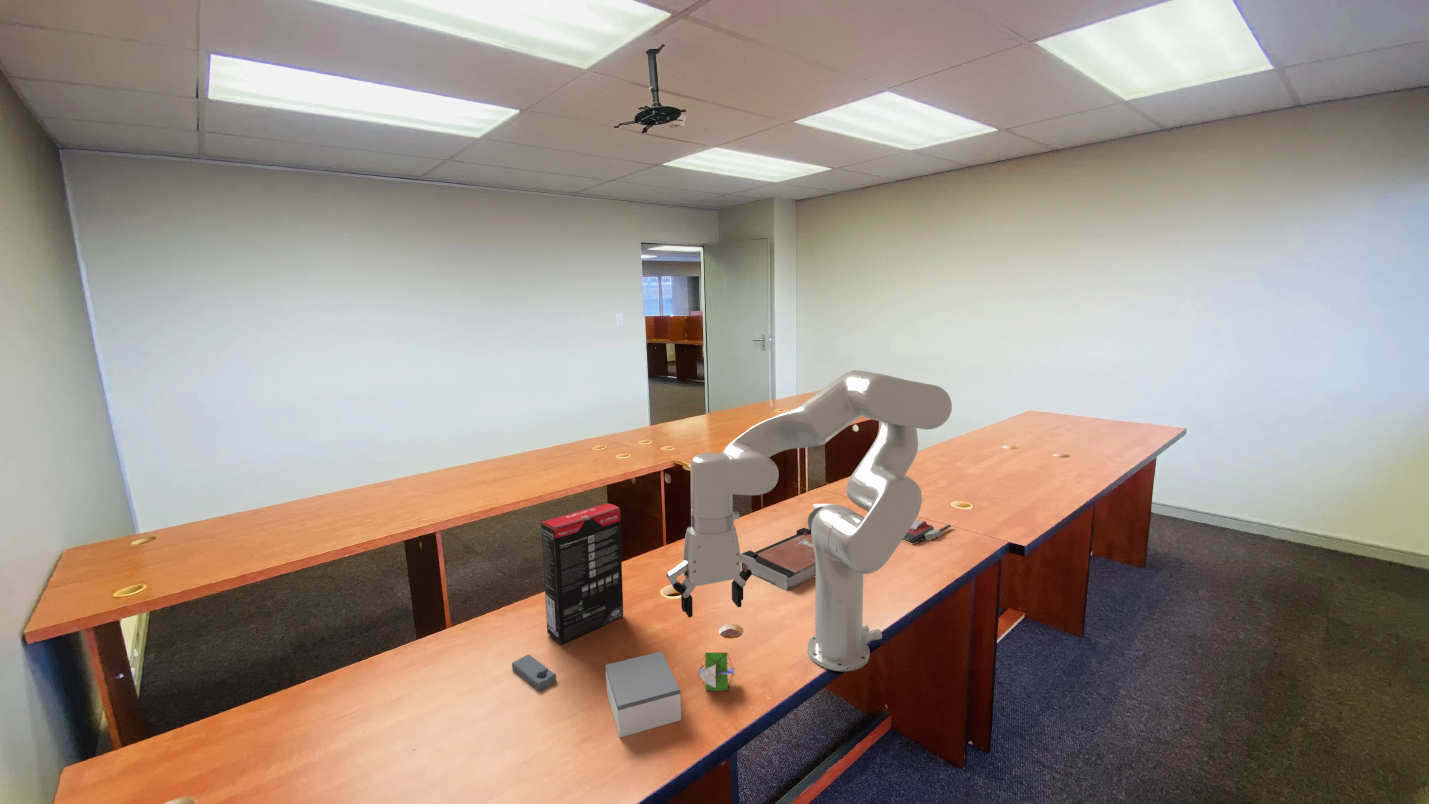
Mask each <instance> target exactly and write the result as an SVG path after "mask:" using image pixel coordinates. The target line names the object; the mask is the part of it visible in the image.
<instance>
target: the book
mask: <svg viewBox="0 0 1429 804" xmlns="http://www.w3.org/2000/svg"><path fill="white" fill-rule="evenodd" d="M741 554H744V555H746V556H749V557H752V558H754V559H755V560H756V565H755V567H754V569H753V570H752V575H753V576H755V577H757V578H759V579H761V580H764V581H765V582H767V583H769V582H770V583H769V584H771V585H773V586H776V587H778V588H780V589H782V590H783V591H786V592H789V591H790V590H793V589H794V588H797V587H799V586H801V585H802V584H804V583H806V582H808V581H810V580H812V579H814V578H816V577H815V576H816V568H815V555H814V548H813V543H812V535H811V530H809V528H805V527H802V528H800V529H797V530H796V534H794V535H792V536H789V537H787V538H784V539H782V540H779V541H778V542H775V543H773V544H771V545H768V546H765V547H763V548H761V549H759V550H756V551H752V550H746V551H745V552H742V553H741ZM745 565H746V564H745V563H742V562H741V571H742V570H743V568H745ZM813 577H814V578H813ZM811 578H812V579H811ZM809 579H810V580H809ZM807 580H808V581H807ZM805 581H806V582H805ZM803 582H804V583H803Z"/></svg>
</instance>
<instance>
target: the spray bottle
mask: <svg viewBox="0 0 1429 804" xmlns="http://www.w3.org/2000/svg"><path fill="white" fill-rule="evenodd" d="M828 505H835V504H834V503H813V504H812V508H813V510H812V511H811V512H810V513H809V514H808V517H807V526H808V529H809V530H811V527H812V522H813V519H814V517H815V515H816V513H817V512H818V511H819V510H820V509H822V508H823V507H825V506H828Z"/></svg>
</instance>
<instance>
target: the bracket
mask: <svg viewBox="0 0 1429 804" xmlns="http://www.w3.org/2000/svg"><path fill="white" fill-rule="evenodd" d="M511 669H512V671H514V672H515V673H516V672H517V673H518V674H517V673H516V674H517V675H518V676H520V677H521V676H522V677H523V678H524V681H526V682H527V681H528V682H529V683H528V682H527V683H528V684H529V685H531V686H532V685H533V686H534V687H535V689H536V691H538V692H541V691H542V689H543V690H544V689H546V688H547V687H549V685H550V686H551V685H553V684H555V683H557V674H556V673H554V671H552V670H549V668H548V667H546V666H545V665H544V664H542V663H541V662H540V661H538V660H537V659H536V658H535V657H533V656H532V655H531V654H526V655H524V656H522V657H521V658H519V659H516V660H514V661H513V662H512V663H511ZM522 677H521V678H522ZM523 678H522V679H523ZM554 682H555V683H554ZM533 686H532V687H533ZM534 687H533V688H534Z"/></svg>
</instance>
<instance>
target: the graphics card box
mask: <svg viewBox="0 0 1429 804" xmlns="http://www.w3.org/2000/svg"><path fill="white" fill-rule="evenodd" d="M540 526H541V527H540V529H541V531H540V532H541V545H542V546H541V547H542V559H543V561H542V562H543V576H544V577H543V578H544V595H545V597H544V598H545V613H546V618H545V619H546V631H547V634H548V635H549V636H551V637H552V638H553V639H554V640H555V641H556V642H557V643H559V644H560V645H563V644H564V643H567V642H569V641H571V640H574V639H575V638H578V637H580V636H583V635H584V634H586V633H589V632H592V631H594V630H596V629H598V628H600V627H602V626H604V625H607V624H609V623H612V622H614V621H616V620H617V619H620V618H622V617H623V616H624V597H623V596H624V594H623V593H624V592H623V591H624V590H623V566H622V565H623V564H622V563H623V561H622V533H621V531H622V528H621V510H620V506H618V505H615V504H612V503H607V502H606V503H602V504H598V505H595V506H592V507H588V508H585V509H581V510H577V511H575V512H570V513H568V514H567V513H566V514H563V515H560V516H557V517H553V518H550V519H546V520H543V521H541V522H540Z"/></svg>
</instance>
